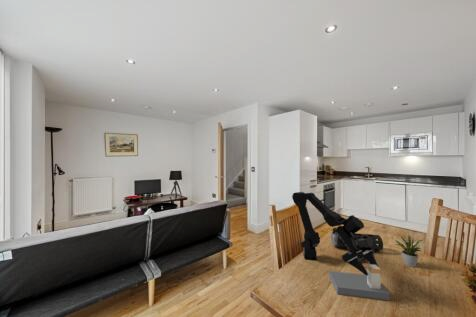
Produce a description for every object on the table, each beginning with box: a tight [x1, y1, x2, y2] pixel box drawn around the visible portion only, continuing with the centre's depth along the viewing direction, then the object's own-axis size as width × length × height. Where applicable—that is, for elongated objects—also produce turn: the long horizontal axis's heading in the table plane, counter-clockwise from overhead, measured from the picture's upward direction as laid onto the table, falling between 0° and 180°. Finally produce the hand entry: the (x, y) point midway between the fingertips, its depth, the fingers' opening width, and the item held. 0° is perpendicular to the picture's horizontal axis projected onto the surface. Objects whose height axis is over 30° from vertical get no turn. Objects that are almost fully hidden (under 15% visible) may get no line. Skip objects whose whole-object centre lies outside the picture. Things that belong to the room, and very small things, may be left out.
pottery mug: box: [357, 254, 369, 265], centre depth 107 cm, size 12×10×8 cm
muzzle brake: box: [330, 231, 384, 252], centre depth 122 cm, size 10×28×10 cm, turn 78°
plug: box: [366, 263, 382, 289], centre depth 82 cm, size 4×4×11 cm
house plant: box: [392, 234, 425, 268], centre depth 104 cm, size 14×14×16 cm
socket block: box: [328, 270, 390, 301], centre depth 85 cm, size 20×12×3 cm, turn 79°
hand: (372, 271), depth 82 cm, fingers open, 9 cm apart
